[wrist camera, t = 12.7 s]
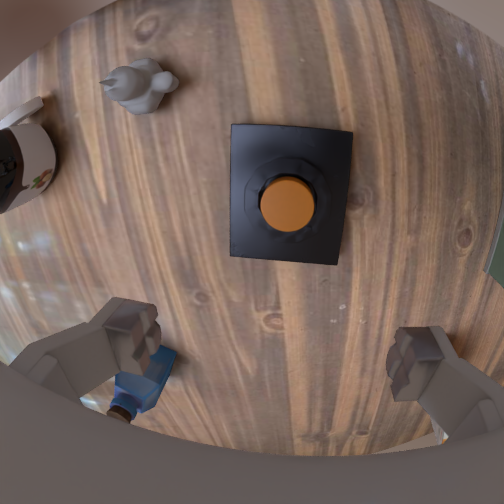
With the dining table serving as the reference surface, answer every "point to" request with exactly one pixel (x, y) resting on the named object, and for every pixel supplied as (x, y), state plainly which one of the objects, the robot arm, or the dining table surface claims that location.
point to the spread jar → (24, 157)
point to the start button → (287, 204)
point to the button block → (294, 165)
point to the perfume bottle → (141, 387)
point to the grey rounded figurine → (139, 85)
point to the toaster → (497, 250)
